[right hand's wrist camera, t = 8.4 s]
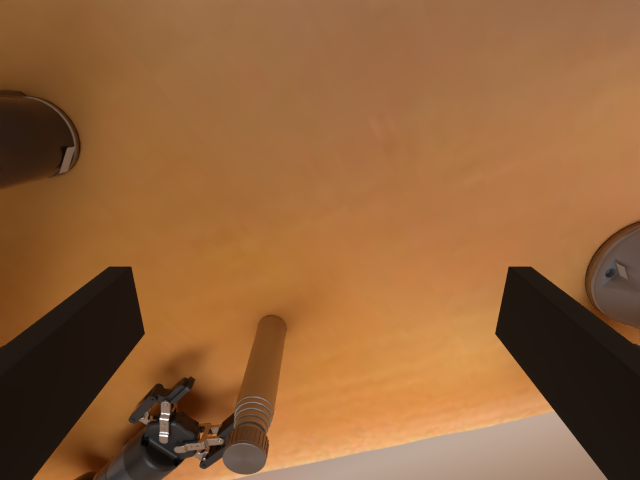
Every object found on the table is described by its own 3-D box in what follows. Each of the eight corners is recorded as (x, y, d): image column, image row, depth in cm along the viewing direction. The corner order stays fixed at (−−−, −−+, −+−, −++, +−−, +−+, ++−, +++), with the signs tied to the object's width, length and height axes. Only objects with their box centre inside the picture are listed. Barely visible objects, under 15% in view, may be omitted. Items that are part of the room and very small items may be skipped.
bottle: (261, 312, 52) (227, 434, 33) (289, 319, 53) (271, 444, 33) (255, 335, 54) (218, 466, 34) (282, 342, 54) (261, 475, 35)
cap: (231, 421, 34) (226, 438, 32) (273, 430, 35) (271, 448, 33) (223, 451, 36) (218, 469, 34) (263, 460, 36) (260, 478, 34)
